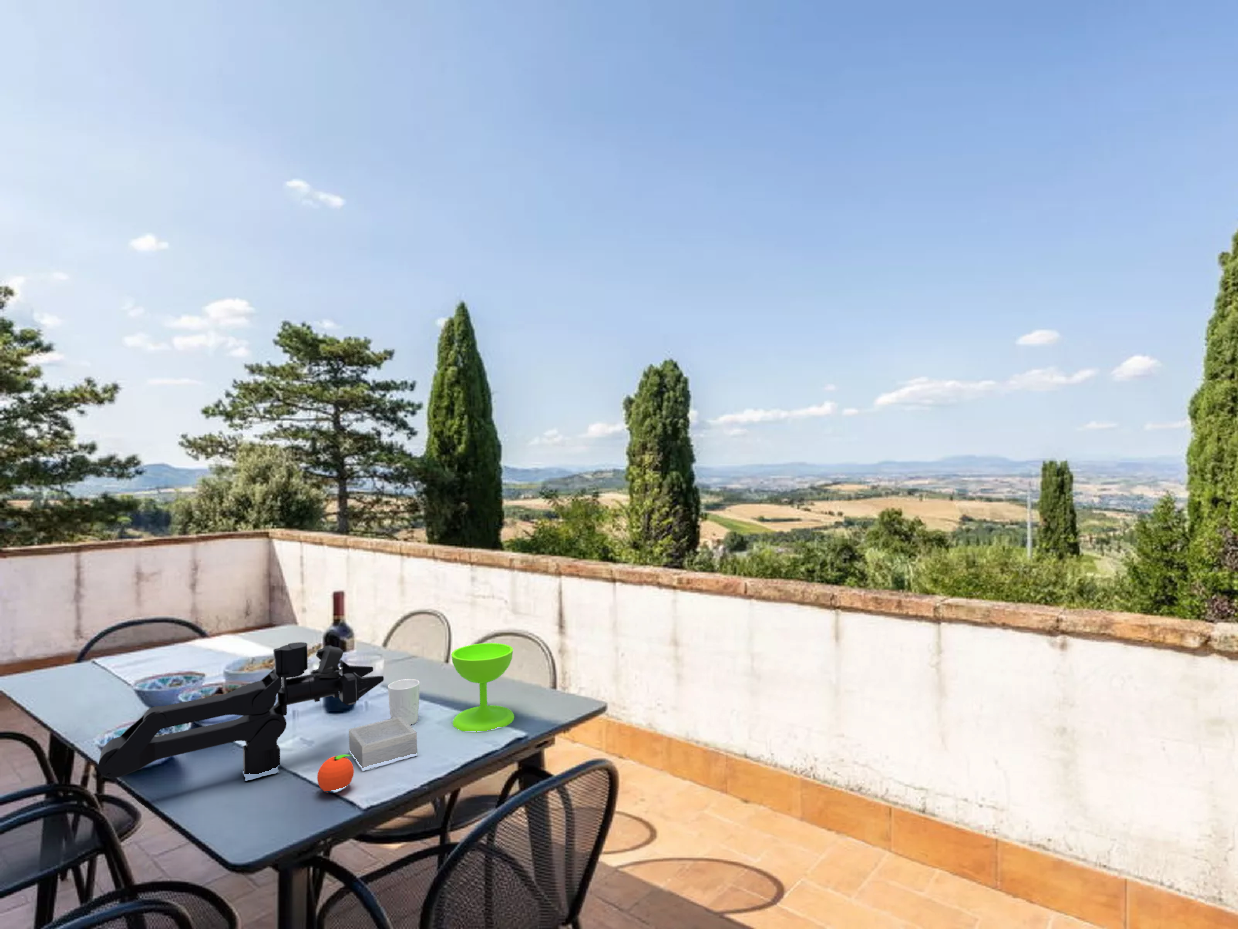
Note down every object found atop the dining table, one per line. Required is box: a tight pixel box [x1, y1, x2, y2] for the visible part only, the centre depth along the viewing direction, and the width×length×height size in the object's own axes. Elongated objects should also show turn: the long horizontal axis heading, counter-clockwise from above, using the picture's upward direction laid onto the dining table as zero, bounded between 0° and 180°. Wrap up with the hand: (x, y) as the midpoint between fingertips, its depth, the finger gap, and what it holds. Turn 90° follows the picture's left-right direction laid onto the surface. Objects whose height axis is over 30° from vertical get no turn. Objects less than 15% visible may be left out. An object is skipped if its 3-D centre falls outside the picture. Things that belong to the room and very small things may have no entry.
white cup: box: [387, 678, 421, 726], centre depth 164 cm, size 8×8×10 cm
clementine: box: [316, 754, 356, 792], centre depth 129 cm, size 8×7×7 cm
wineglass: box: [450, 642, 515, 733], centre depth 164 cm, size 16×16×18 cm
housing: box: [348, 716, 418, 768], centre depth 145 cm, size 12×12×6 cm
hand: (378, 673), depth 152 cm, fingers open, 9 cm apart
